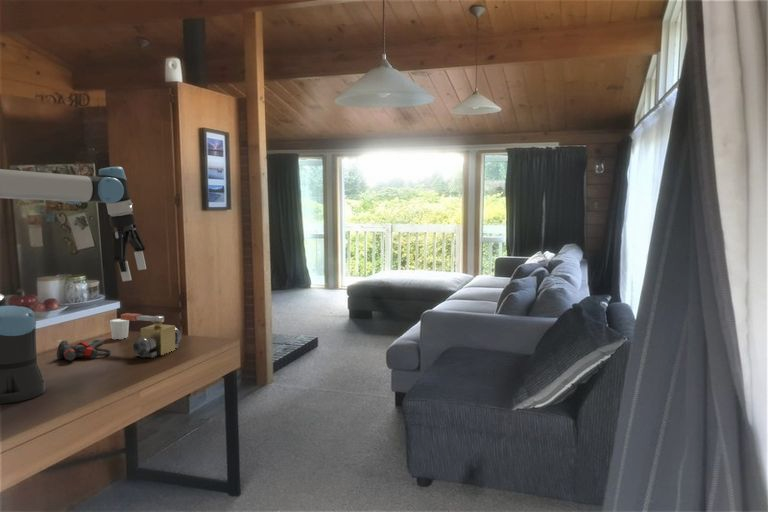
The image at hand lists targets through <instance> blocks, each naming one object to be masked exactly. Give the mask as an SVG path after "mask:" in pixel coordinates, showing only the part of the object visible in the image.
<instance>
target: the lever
mask: <svg viewBox="0 0 768 512" xmlns="http://www.w3.org/2000/svg"><path fill="white" fill-rule="evenodd" d="M120 319H121V320H129V322H130V321H133V322H137V321H147V322H151V323H153V324H154V323H159V322H162V323H164V322H165V316H164V315H145V314H142V313H133V312H132V313H131V312H126V313H122V314H120Z"/></svg>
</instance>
